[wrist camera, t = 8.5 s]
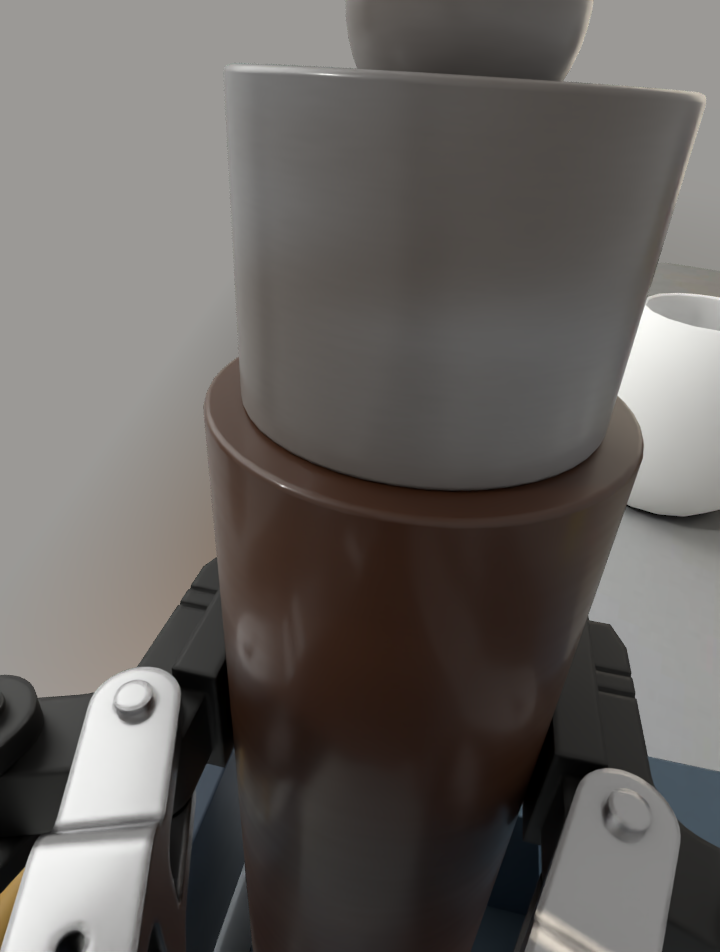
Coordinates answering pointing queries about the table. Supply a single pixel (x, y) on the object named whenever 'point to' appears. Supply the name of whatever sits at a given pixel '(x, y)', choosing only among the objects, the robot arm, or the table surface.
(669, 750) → the table surface
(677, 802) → the cabinet
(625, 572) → the table surface
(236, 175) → the pepper mill
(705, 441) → the cup
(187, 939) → the drawer
